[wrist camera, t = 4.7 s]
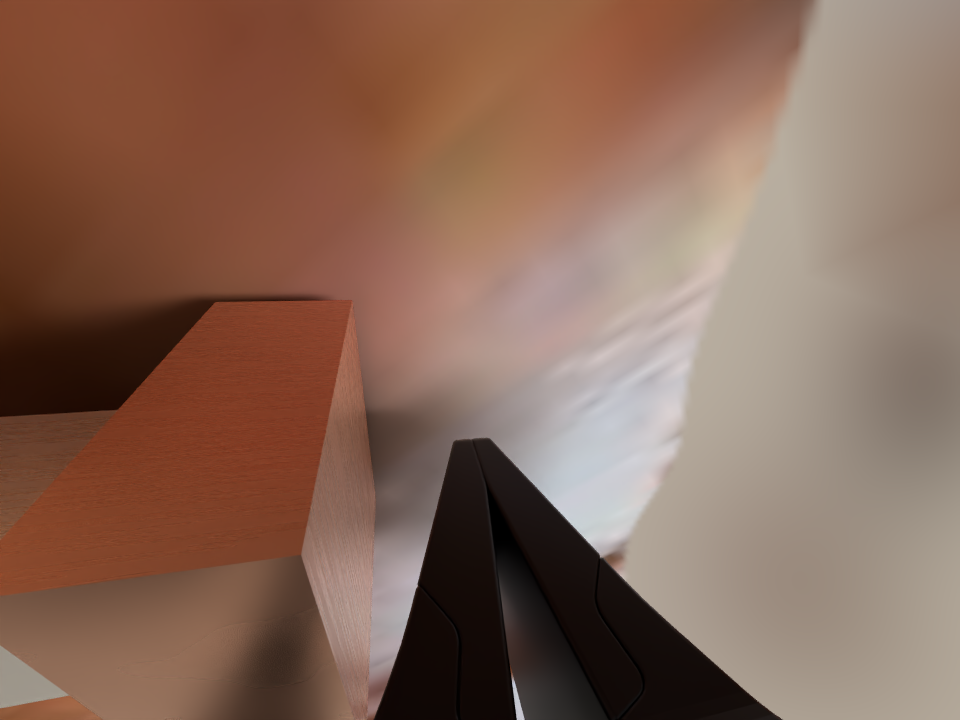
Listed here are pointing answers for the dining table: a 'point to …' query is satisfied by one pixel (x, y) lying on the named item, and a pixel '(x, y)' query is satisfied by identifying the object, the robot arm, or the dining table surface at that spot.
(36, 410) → the dining table surface
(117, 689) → the shaft
